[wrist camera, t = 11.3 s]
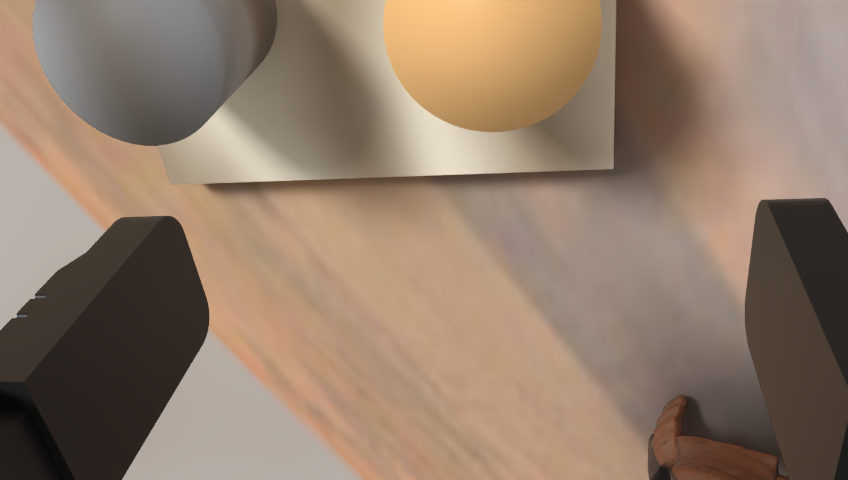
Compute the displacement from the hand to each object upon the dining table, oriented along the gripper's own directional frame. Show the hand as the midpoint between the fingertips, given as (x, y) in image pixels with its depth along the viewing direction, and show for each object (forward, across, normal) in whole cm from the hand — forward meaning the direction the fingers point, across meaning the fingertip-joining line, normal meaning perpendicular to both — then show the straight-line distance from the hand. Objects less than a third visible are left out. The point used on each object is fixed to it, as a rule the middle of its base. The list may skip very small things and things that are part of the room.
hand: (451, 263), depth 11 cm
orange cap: (+15, 0, 0) cm, 15 cm away
